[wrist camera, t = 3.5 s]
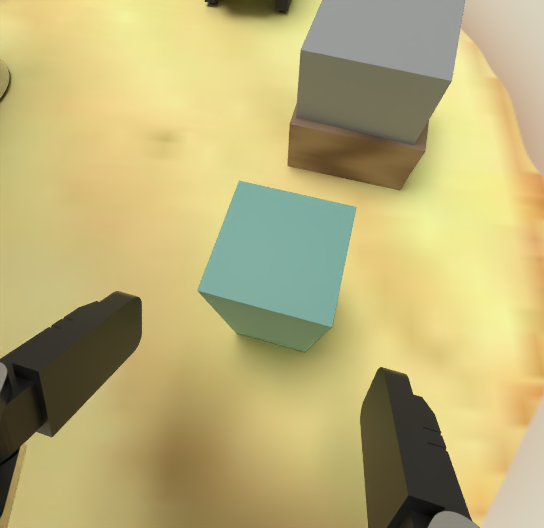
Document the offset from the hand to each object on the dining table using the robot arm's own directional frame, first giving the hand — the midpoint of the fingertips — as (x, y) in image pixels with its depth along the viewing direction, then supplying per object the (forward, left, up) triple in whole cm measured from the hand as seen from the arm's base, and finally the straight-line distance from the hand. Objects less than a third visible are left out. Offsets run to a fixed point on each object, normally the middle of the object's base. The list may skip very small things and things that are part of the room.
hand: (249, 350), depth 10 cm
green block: (0, +4, -10) cm, 10 cm away
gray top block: (+2, +20, -5) cm, 20 cm away
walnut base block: (+2, +20, -10) cm, 22 cm away
